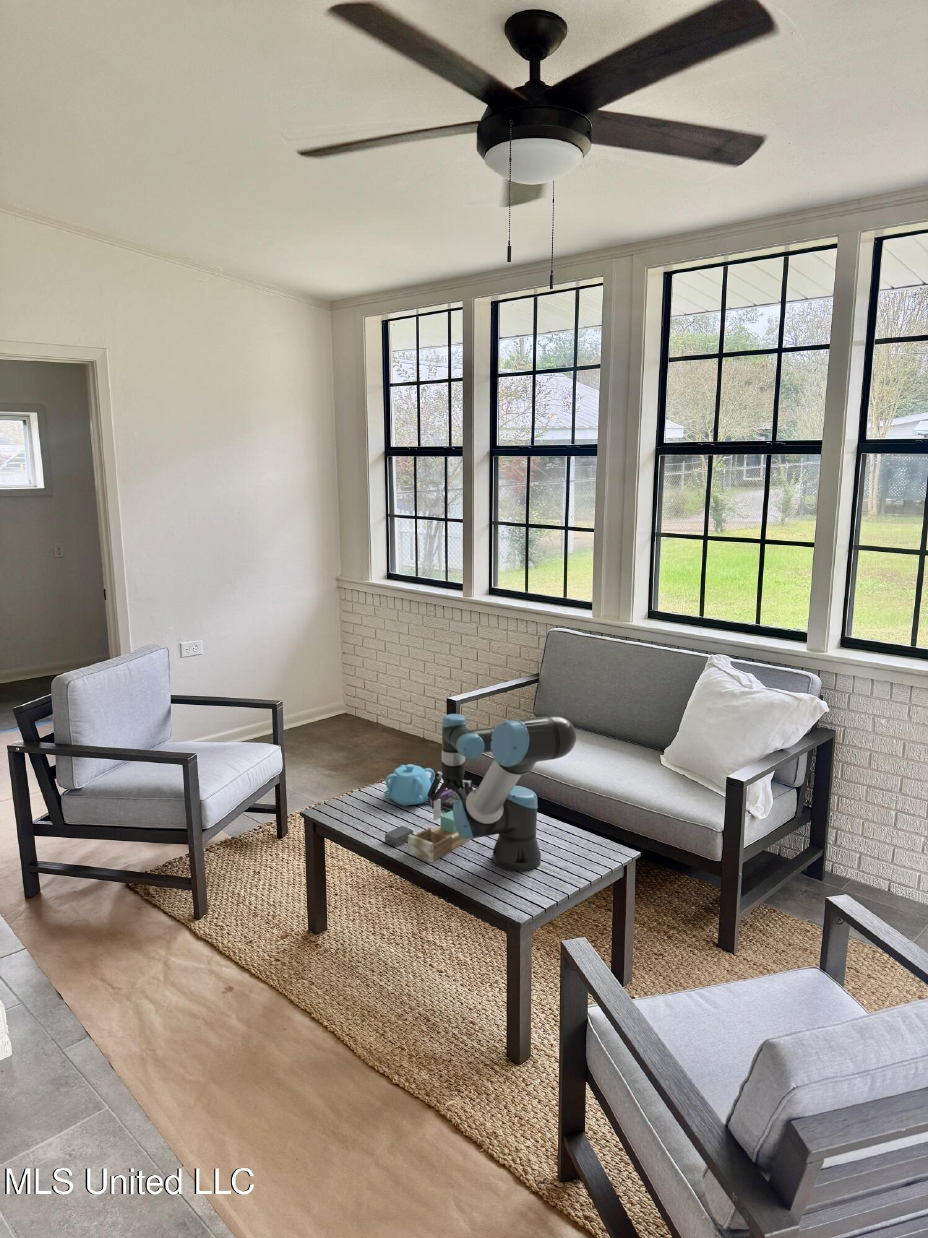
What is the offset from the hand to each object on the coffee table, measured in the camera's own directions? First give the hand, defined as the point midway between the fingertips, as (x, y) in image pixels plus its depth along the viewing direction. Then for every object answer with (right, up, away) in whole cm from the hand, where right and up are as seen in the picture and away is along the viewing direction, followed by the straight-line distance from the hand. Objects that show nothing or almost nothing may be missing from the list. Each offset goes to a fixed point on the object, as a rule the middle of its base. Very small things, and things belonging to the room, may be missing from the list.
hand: (452, 824), depth 264 cm
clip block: (0, -1, 0) cm, 2 cm away
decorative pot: (-16, 0, +32) cm, 36 cm away
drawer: (-4, -6, -4) cm, 8 cm away
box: (+2, -1, +29) cm, 29 cm away
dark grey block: (-17, -5, 0) cm, 18 cm away
